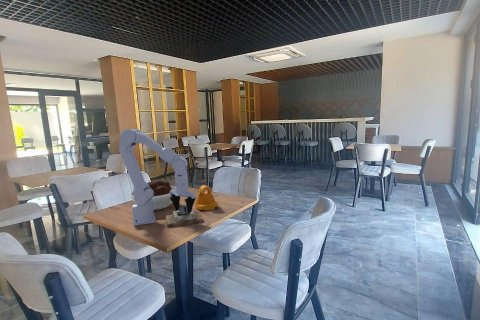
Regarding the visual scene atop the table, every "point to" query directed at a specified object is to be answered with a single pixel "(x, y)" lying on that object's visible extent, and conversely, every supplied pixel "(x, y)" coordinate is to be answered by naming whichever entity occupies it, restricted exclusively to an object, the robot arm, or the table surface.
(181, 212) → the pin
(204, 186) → the bracket
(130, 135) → the robot arm
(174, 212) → the nut plate
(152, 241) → the table surface
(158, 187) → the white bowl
